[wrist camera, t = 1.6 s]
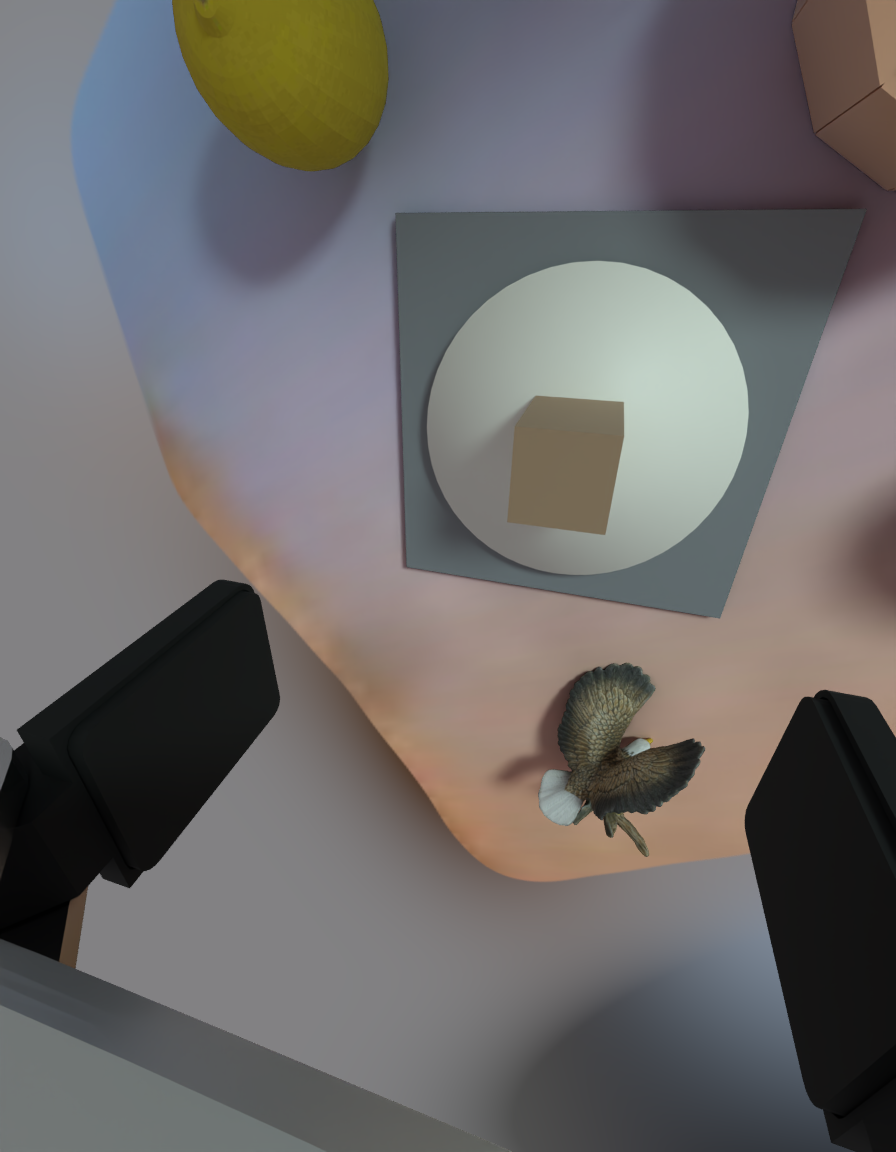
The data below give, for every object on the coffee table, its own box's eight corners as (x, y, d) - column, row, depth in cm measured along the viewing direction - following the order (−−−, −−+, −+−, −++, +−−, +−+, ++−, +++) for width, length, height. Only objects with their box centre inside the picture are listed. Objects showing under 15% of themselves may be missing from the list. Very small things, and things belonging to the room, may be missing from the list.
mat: (400, 214, 20) (395, 213, 20) (860, 210, 17) (867, 208, 16) (409, 562, 29) (406, 566, 28) (718, 612, 25) (719, 618, 24)
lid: (431, 259, 20) (373, 256, 16) (796, 262, 17) (862, 260, 13) (432, 547, 27) (392, 606, 22) (695, 586, 24) (713, 664, 19)
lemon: (394, -52, 17) (244, -264, 10) (437, 156, 19) (338, 95, 12) (260, 27, 19) (62, -106, 12) (314, 206, 21) (173, 177, 14)
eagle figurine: (686, 809, 31) (741, 727, 24) (613, 897, 27) (657, 827, 21) (584, 724, 35) (610, 637, 29) (511, 791, 32) (522, 708, 26)
